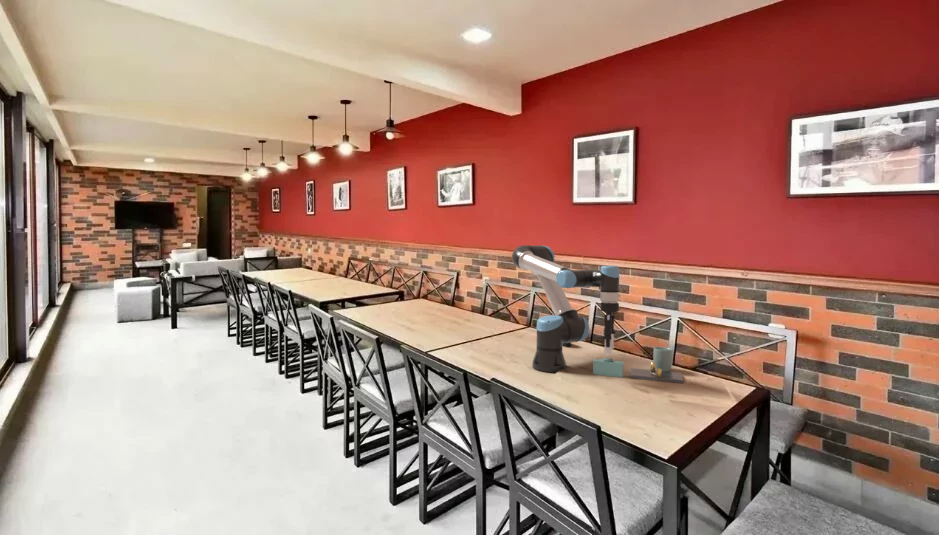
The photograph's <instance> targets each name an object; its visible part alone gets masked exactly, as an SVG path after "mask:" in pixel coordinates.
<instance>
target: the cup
mask: <svg viewBox="0 0 939 535" xmlns="http://www.w3.org/2000/svg"><path fill="white" fill-rule="evenodd" d="M673 350H674V349H673V348H671V347H667V346H654V347H653V356H652V358H653V362H655V370H656V371H657V368H660V369H662V371H666V372H671V369H672V367H673V360H674V359H673V356H674V354H673V353H674V351H673Z"/></svg>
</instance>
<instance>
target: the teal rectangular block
mask: <svg viewBox="0 0 939 535" xmlns="http://www.w3.org/2000/svg"><path fill="white" fill-rule="evenodd" d="M592 361H593V362H592V374H593V375H597V376H598V375H599V376H607V377H614V378H615V377H616V378H623V377H624V361H623V360H622V361H621V360H614V359H613V358H611V357H604V359H603V358H602V359H601V358H594V359H593V360H592Z"/></svg>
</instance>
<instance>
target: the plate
mask: <svg viewBox="0 0 939 535" xmlns="http://www.w3.org/2000/svg"><path fill="white" fill-rule="evenodd" d="M629 375H630V376H629V378H630V379H638V380H646V381H647V380H649V381H650V380H651V381H657V382H668V383H677V384H684V378H683V375H682V373H681V372H675V371H668V372H666V371H662V369H660V368H657V370H656V369H655V362H654V361H652V362H650V369H646V368H645V369H644V368H634V367H631V368H630V374H629Z"/></svg>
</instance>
